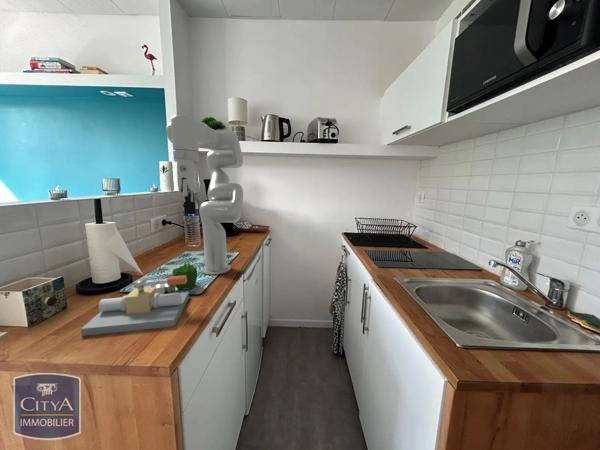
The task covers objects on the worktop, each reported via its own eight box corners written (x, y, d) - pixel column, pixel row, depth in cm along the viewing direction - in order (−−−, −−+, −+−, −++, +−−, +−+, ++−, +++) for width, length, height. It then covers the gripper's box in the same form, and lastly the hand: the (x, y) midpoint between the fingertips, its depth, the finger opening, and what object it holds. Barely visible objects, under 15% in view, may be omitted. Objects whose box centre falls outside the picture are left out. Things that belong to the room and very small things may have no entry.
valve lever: (132, 294, 71) (131, 283, 71) (136, 289, 74) (135, 279, 74) (185, 288, 75) (185, 278, 75) (187, 284, 78) (186, 274, 78)
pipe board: (117, 303, 81) (114, 283, 80) (189, 297, 86) (187, 278, 84) (82, 335, 64) (78, 310, 62) (174, 326, 68) (172, 302, 67)
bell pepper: (171, 287, 94) (168, 262, 92) (193, 281, 99) (191, 257, 98) (177, 294, 88) (175, 267, 86) (201, 288, 93) (199, 262, 92)
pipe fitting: (161, 299, 86) (176, 290, 92) (159, 289, 85) (174, 280, 91) (143, 296, 88) (159, 287, 94) (141, 286, 87) (157, 277, 93)
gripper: (194, 154, 73) (197, 216, 76) (202, 159, 87) (205, 211, 90) (166, 154, 71) (171, 217, 74) (180, 159, 86) (183, 211, 89)
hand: (190, 213), depth 82 cm, fingers closed
